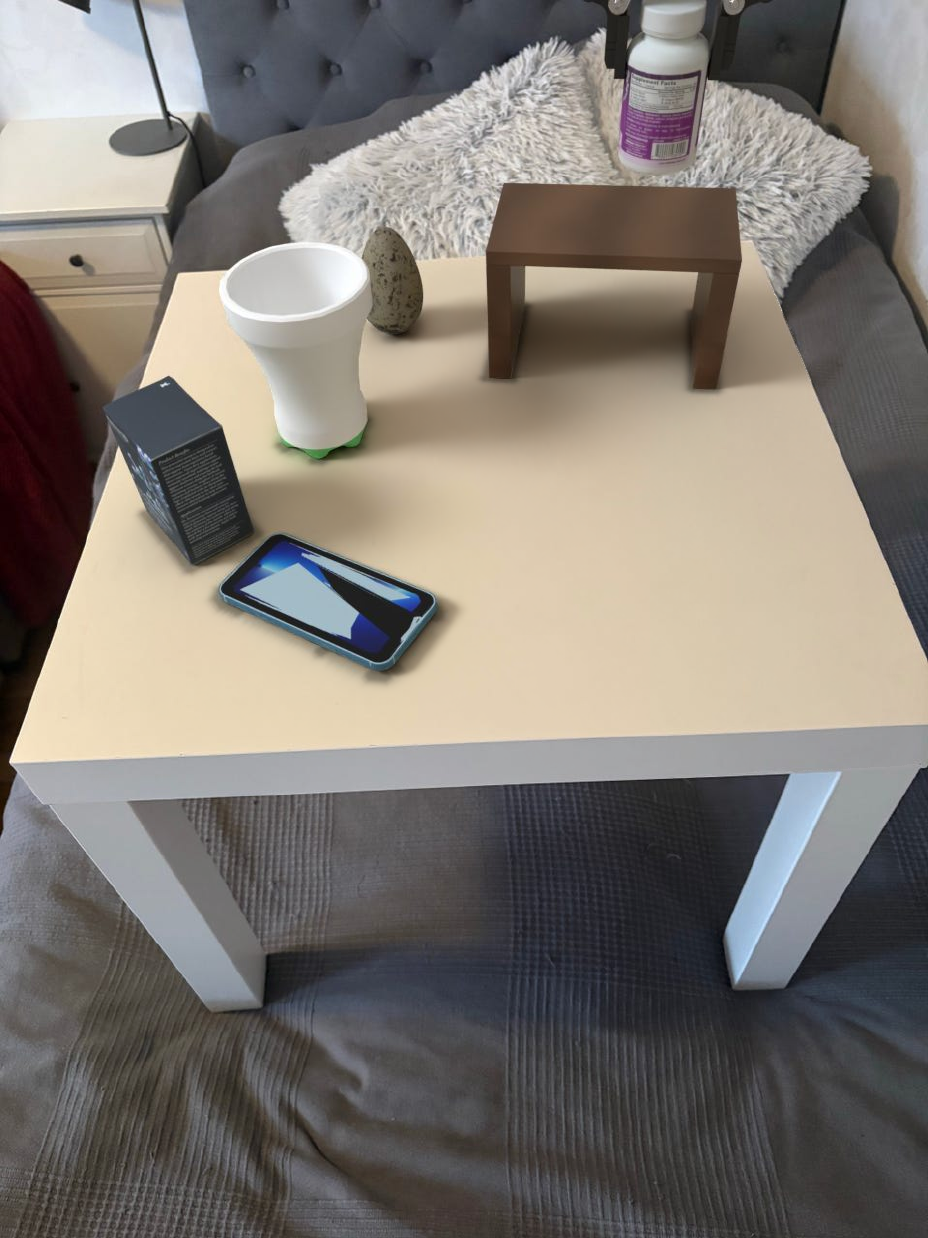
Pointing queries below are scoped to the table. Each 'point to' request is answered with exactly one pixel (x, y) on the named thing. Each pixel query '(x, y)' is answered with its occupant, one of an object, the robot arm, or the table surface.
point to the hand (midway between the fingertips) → (666, 74)
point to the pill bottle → (664, 88)
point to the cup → (305, 337)
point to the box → (181, 468)
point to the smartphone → (330, 600)
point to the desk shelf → (615, 253)
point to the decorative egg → (392, 282)
